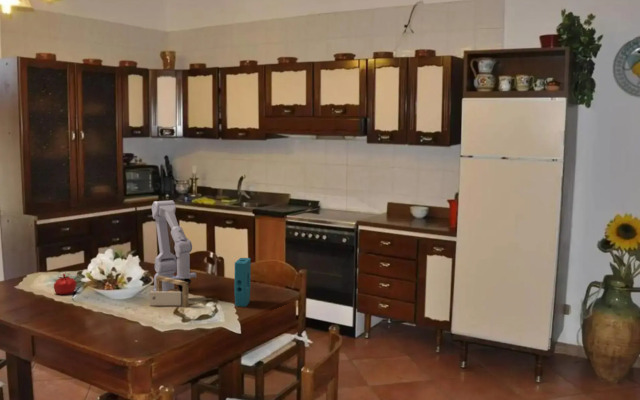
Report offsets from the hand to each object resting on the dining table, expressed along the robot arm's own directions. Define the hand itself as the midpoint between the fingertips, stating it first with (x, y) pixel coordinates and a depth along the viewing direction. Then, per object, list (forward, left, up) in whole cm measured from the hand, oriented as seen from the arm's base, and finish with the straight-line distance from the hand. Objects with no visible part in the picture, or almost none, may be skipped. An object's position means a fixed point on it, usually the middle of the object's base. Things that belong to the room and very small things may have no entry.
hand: (183, 294), depth 281 cm
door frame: (+1, -8, -2) cm, 8 cm away
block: (+27, +11, -2) cm, 29 cm away
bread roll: (0, -7, -2) cm, 7 cm away
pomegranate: (-50, -28, -2) cm, 58 cm away
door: (+3, -12, -2) cm, 13 cm away
